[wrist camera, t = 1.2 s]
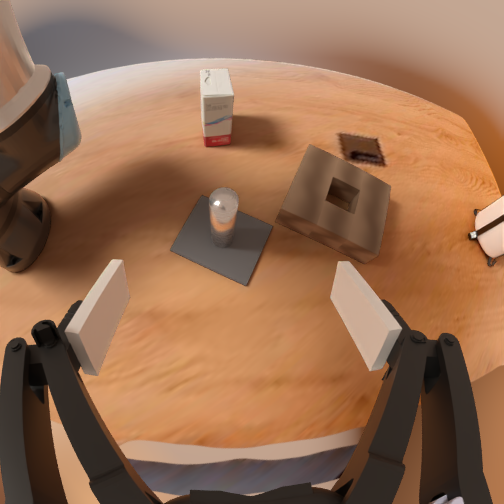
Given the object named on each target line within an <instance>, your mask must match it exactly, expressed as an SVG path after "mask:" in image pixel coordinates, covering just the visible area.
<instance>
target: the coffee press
mask: <svg viewBox="0 0 504 504" xmlns="http://www.w3.org/2000/svg"><path fill="white" fill-rule="evenodd" d="M477 210H479V209H475V210H474V214H475V215H476V220H475V229H476V231H474V232H471V233H469V234H468V236H469V240H473V239H478V240H479V243H480V245H481V247H482V249H483V250H484V251H485V253H486V254H487V255H488V256H489V260H488V266H494V264H495V262H496V260H497V259H498V258H500V257H502V256H504V195H503V196H502V197H500V198H499V199H497V200H496V201H494V202H493V203H492V204H490V205H489V206H487V207H486V208H484V209H482V210H480V211H481V212H479V213H478V214H477ZM492 258H495V259H494V261H493V262H492V265H491V264H490V262H491V259H492Z"/></svg>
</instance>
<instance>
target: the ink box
mask: <svg viewBox="0 0 504 504" xmlns="http://www.w3.org/2000/svg"><path fill="white" fill-rule="evenodd" d="M200 92H201V118H202V127H203V136H204V145H205V147H208V146H219V145H227V144H230V143H231V129H232V115H233V102H234V92H233V88H232V83H231V79H230V75H229V71H228V69H227V68H226V69H204V70H200Z"/></svg>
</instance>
